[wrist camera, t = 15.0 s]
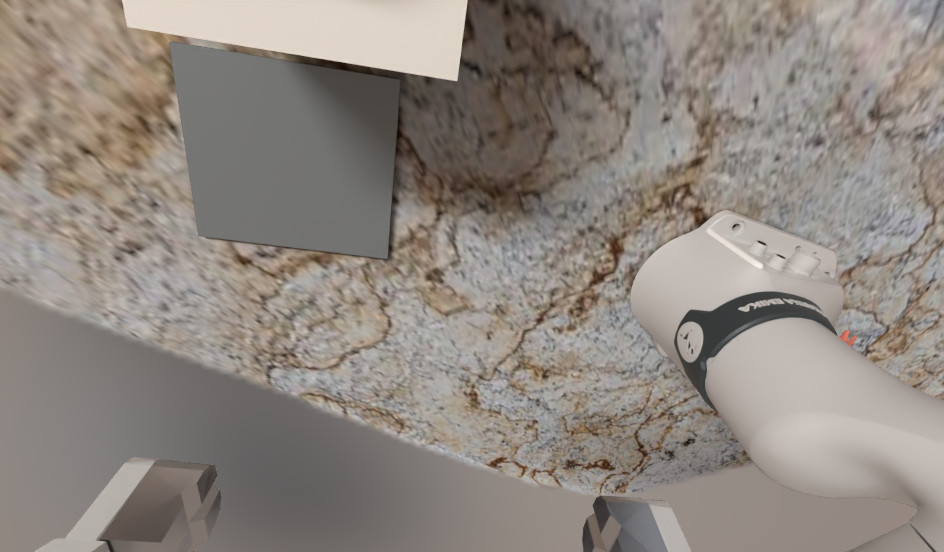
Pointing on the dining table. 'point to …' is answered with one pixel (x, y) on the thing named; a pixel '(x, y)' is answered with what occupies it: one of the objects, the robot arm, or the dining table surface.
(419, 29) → the cube with grey knob
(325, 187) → the mat
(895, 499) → the robot arm
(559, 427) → the dining table surface
